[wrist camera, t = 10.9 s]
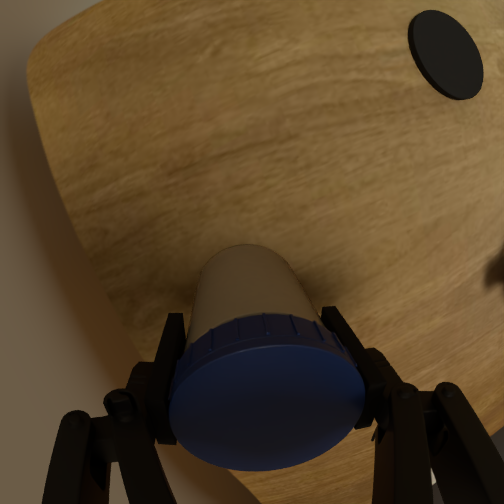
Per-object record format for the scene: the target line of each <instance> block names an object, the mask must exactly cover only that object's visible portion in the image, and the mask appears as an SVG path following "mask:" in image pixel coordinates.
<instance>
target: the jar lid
mask: <svg viewBox="0 0 504 504" xmlns="http://www.w3.org/2000/svg"><path fill="white" fill-rule="evenodd" d="M356 367H357V364H356V362H355V361H354V359H353V357H352V356H351V354H350V352H349V351H348V349H347V347H346V346H343V345H342V344H341V342H340V341H339V339H338V337H337V336H336V334H335V333H334V332H330V331H329V330H327V329H326V328H325V327H323V326H321V325H319V324H318V323H317V321H315V320H314V321H310V320H307V319H304V318H301V317H296V316H293V314H290V315H282V314H265V313H262V315H254V316H248V317H243V318H239V319H237V318H234V320H232V321H230V322H227V323H224V324H222V325H220V326H218V327H216V328H214V329H212V328H210V329H209V331H208V332H207V333H205V334H204V335H202V336H201V337H200V338H198V339H197V340H196V341H195V342H194V343H190V345H189V348H188V349H187V350H186V351H185V353H184V354H183V356H182V357H181V359H180V360H177V364H176V369H175V375H174V377H172V380H171V385H170V390H169V396H168V400H169V401H170V403H169V409H168V419H169V424H170V427H171V430H172V432H173V434H174V436H175V437H176V439H177V440H178V442H179V443H180V444H181V445H182V446H183V447H184V448H185V449H186V450H188V451H189V452H190V453H191V454H193V455H194V456H196V457H198V458H199V459H201V460H203V461H206V462H207V463H210V464H213V465H216V466H219V467H223V468H227V469H232V470H239V471H270V470H277V469H283V468H287V467H291V466H295V465H298V464H301V463H304V462H306V461H309V460H311V459H313V458H315V457H317V456H319V455H321V454H323V453H325V452H326V451H328V450H330V449H331V448H332V447H334V446H335V445H337V444H338V443H339V442H340V441H341V440H342V439H344V438H345V437H346V436H347V434H348V433H349V432H350V431H351V430H352V429H353V427H354V426H355V425H356V423H357V421H358V420H359V418H360V416H361V413H362V411H363V408H364V404H365V386H364V382H363V380H362V377H361V375H360V373H359V372H358V370H357V368H356Z"/></svg>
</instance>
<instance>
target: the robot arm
mask: <svg viewBox="0 0 504 504" xmlns="http://www.w3.org/2000/svg"><path fill="white" fill-rule="evenodd" d="M321 319H322V321H323V323H324V325H325V326H326V328H327V330H329V331H330V332H334V333H335V334H336V336H337V337H338V339H339V341H340V342H341V344H342V345H343V346H346V347H347V349H348V351H349V352H350V354H351V356H352V357H353V359H354V361H355V362H356V364H357V367H356V368H357V370H358V372H359V373H360V375H361V377H362V380H363V382H364V386H365V404H364V408H363V411H362V413H361V416H360V418H359V420H358V421H357V423H356V425H355V426H354V428H355V430H356V429H361V428H365V427H369V426H371V425H372V422H373V420H374V418H375V420H376V422H377V423H378V425H377V427H376V429H375V432H374V434H373V436H372V439H371V441H374V439H375V463H374V482H373V495H372V504H433V490H432V477H431V469H432V472H433V474H434V477H435V480H436V482H437V485H438V488H439V490H440V493H441V496H442V499H443V501H444V504H504V462H503V460H502V458H501V456H500V454H499V452H498V451H497V449H496V447H495V445H494V444H493V442H492V440H491V438H490V437H489V435H488V433H487V431H486V430H485V428H484V426H483V425H482V423H481V421H480V420H479V418H478V416H477V415H476V413H475V412H474V410H473V408H472V407H471V405H470V404H469V402H468V401H467V399H466V397H465V396H464V394H463V393H462V391H461V390H460V388H459V387H458V386H457V385H455V384H453V383H450V382H442V383H439V384H438V385H437V386H436V388H435V390H434V391H419V390H418V389H417V388H416V387H415V386H414V385H412V384H410V383H405V382H403V381H402V380H401V378H400V377H399V376H398V374H397V373H396V372H395V370H394V369H393V367H392V366H390V363H389V362H388V361H387V360H386V358H385V356H384V355H383V354H382V353H381V352H380V351H378V350H377V349H375V348H367V349H365V348H364V347H363V345H362V344H361V342H360V341H359V339H358V338H357V337H356V335H355V334H354V332H353V331H352V329H351V328H350V326H349V325H348V324H347V322H346V321H345V319H344V318H343V316H342V315H341V314H340V312H339V311H338V309H337V308H336V306H328V307H322V314H321ZM185 343H186V336H185V328H184V319H183V313H169V314H168V317H167V320H166V324H165V327H164V330H163V333H162V337H161V340H160V343H159V346H158V350H157V353H156V357H155V360H154V362H138V364H136V365H135V367H133V369H132V372H131V375H130V378H129V380H128V383H127V386H126V389H116V390H113V391H111V392H109V393H108V394H107V395H106V396H105V398H104V401H103V404H104V406H105V408H106V411H107V413H108V415H107V416H103V417H95V418H90V416H89V414H88V413H86V412H84V411H81V410H75V411H71V412H68V413H67V414H66V415H64V416H63V418H62V420H61V423H60V426H59V430H58V433H57V437H56V441H55V445H54V448H53V453H52V456H51V461H50V465H49V469H48V474H47V478H46V483H45V488H44V494H43V499H42V504H109V488H110V487H109V486H110V472H111V462H119V466H120V471H121V475H122V479H123V482H124V486H125V490H126V493H127V497H128V500H129V504H177V502H176V500H175V497H174V495H173V493H172V490H171V488H170V486H169V483H168V481H167V478H166V476H165V473H164V470H163V468H162V465H161V462H160V460H159V457H158V454H157V451H156V448H155V446H154V444H155V439H157V442H158V444H168V445H176V443H177V439H176V437H175V436H174V434H173V432H172V430H171V427H170V424H169V419H168V409H169V403H170V401H169V400H168V396H169V390H170V385H171V380H172V377H174V375H175V369H176V364H177V360H180V359H181V357H182V356H183V354H184V349H185Z"/></svg>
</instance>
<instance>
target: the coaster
mask: <svg viewBox="0 0 504 504" xmlns="http://www.w3.org/2000/svg"><path fill="white" fill-rule="evenodd" d="M408 38H409V45H410V49H411V52H412V55H413V57H414V60H415V62H416V64H417V66H418V68H419V69H420V71H421V72H422V74H423V75H424V77H425V78H426V79H427V80H428V82H429V83H430V84H431V85H432V86H433V87H434V88H435V89H437V90H438V91H439V92H440V93H442V94H443V95H445V96H447V97H449V98H452V99H456V100H464V99H470V98H472V97H474V96H475V95H476V94H477V93H478V92H479V91H480V89H481V86H482V83H483V64H482V60H481V56H480V53H479V51H478V49H477V46H476V44H475V43H474V41H473V39H472V38H471V36H470V35H469V33H468V32H467V31H466V30H465V28H464V27H463V26H462V25H461V24H460V23H459V22H457V21H456V20H455V19H454V18H452V17H451V16H449V15H447V14H445V13H443V12H440V11H436V10H426V11H423V12H421V13H420V14H418V15H416V16H415V17H414V18H413V19H412V21H411V23H410V26H409V31H408Z"/></svg>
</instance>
